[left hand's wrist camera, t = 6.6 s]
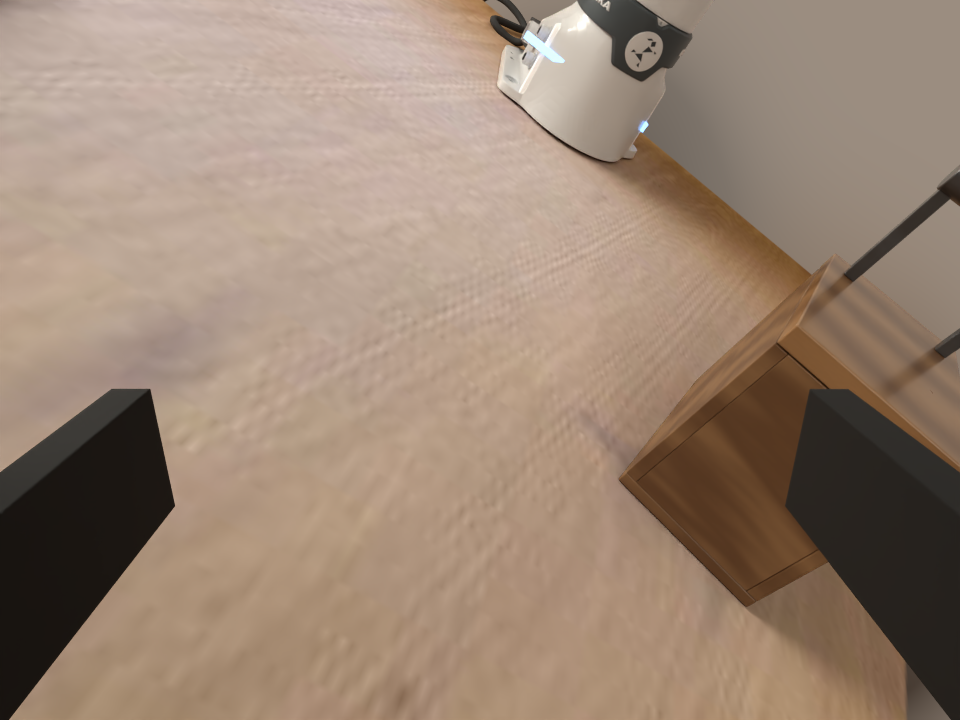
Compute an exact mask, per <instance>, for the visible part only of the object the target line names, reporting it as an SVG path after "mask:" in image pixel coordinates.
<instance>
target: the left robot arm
mask: <svg viewBox="0 0 960 720" xmlns="http://www.w3.org/2000/svg"><path fill="white" fill-rule="evenodd" d="M174 507H175V503H174V499H173V494H172V489H171V484H170V480H169V475H168V470H167V466H166V461H165V456H164V451H163V447H162V442H161V437H160V433H159V428H158V423H157V418H156V414H155V409H154V404H153V400H152V395H151V390H150V389H111V390H110V391H108V392H107V393H106V394H104V395H103V396H102V397H100V398H99V399H98V400H96V401H95V402H94V403H92V404H91V405H90V406H88V407H87V408H86V409H84V410H83V411H82V412H80V413H79V414H78V415H76V416H75V417H74V418H72V419H71V420H70V421H68V422H67V423H66V424H64V425H63V426H62V427H60V428H59V429H58V430H56V431H55V432H54V433H52V434H51V435H50V436H48V437H47V438H46V439H44V440H43V441H41V442H40V443H39V444H37V445H36V446H35V447H33V448H32V449H31V450H29V451H28V452H27V453H25V454H24V455H23V456H21V457H20V458H19V459H17V460H16V461H15V462H13V463H12V464H11V465H9V466H8V467H7V468H5V469H4V470H3V471H1V472H0V720H9V719H10V718H11V716H12V715H13V714H14V712H15V711H16V710H17V709H18V707H19V706H20V705H21V703H22V702H23V701H24V700H25V698H26V697H27V696H28V694H29V693H30V692H31V691H32V689H33V688H34V687H35V685H36V684H37V683H38V682H39V680H40V679H41V678H42V676H43V675H44V674H45V673H46V671H47V670H48V669H49V667H50V666H51V665H52V664H53V662H54V661H55V660H56V658H57V657H58V656H59V655H60V653H61V652H62V651H63V649H64V648H65V647H66V646H67V644H68V643H69V642H70V640H71V639H72V638H73V637H74V635H75V634H76V633H77V631H78V630H79V629H80V628H81V626H82V625H83V624H84V622H85V621H86V620H87V619H88V617H89V616H90V615H91V613H92V612H93V611H94V610H95V608H96V607H97V606H98V604H99V603H100V602H101V601H102V599H103V598H104V597H105V595H106V594H107V593H108V592H109V590H110V589H111V588H112V586H113V585H114V584H115V583H116V581H117V580H118V579H119V577H120V576H121V575H122V574H123V572H124V571H125V570H126V568H127V567H128V566H129V565H130V563H131V562H132V561H133V559H134V558H135V557H136V556H137V554H138V553H139V552H140V550H141V549H142V548H143V547H144V545H145V544H146V543H147V541H148V540H149V539H150V538H151V536H152V535H153V534H154V532H155V531H156V530H157V529H158V527H159V526H160V525H161V523H162V522H163V521H164V520H165V518H166V517H167V516H168V514H169V513H170V512H171V511H172V509H173V508H174ZM785 507H786V508H787V509H788V511H789V512H790V513H791V514H792V516H793V517H794V518H795V520H796V521H797V522H798V523H799V525H800V526H801V527H802V529H803V530H804V531H805V532H806V534H807V535H808V536H809V538H810V539H811V540H812V541H813V543H814V544H815V545H816V547H817V548H818V549H819V550H820V552H821V553H822V554H823V556H824V557H825V558H826V559H827V561H828V562H829V563H830V565H831V566H832V567H833V568H834V570H835V571H836V572H837V574H838V575H839V576H840V577H841V579H842V580H843V581H844V583H845V584H846V585H847V586H848V588H849V589H850V590H851V592H852V593H853V594H854V595H855V597H856V598H857V599H858V601H859V602H860V603H861V604H862V606H863V607H864V608H865V610H866V611H867V612H868V613H869V615H870V616H871V617H872V619H873V620H874V621H875V622H876V624H877V625H878V626H879V628H880V629H881V630H882V631H883V633H884V634H885V635H886V637H887V638H888V639H889V640H890V642H891V643H892V644H893V646H894V647H895V648H896V649H897V651H898V652H899V653H900V655H901V656H902V657H903V658H904V660H905V661H906V662H907V664H908V665H909V666H910V667H911V669H912V670H913V671H914V673H915V674H916V675H917V676H918V678H919V679H920V680H921V682H922V683H923V684H924V685H925V687H926V688H927V689H928V691H929V692H930V693H931V694H932V696H933V697H934V698H935V700H936V701H937V702H938V703H939V705H940V706H941V707H942V709H943V710H944V711H945V712H946V714H947V715H948V716H949V718H950V719H951V720H960V472H959V471H957V470H956V469H955V468H953V467H952V466H951V465H949V464H948V463H947V462H945V461H944V460H943V459H941V458H940V457H939V456H937V455H936V454H935V453H933V452H932V451H931V450H929V449H928V448H927V447H925V446H924V445H923V444H921V443H920V442H919V441H917V440H916V439H914V438H913V437H912V436H910V435H909V434H908V433H906V432H905V431H904V430H902V429H901V428H900V427H898V426H897V425H896V424H894V423H893V422H892V421H890V420H889V419H888V418H886V417H885V416H884V415H882V414H881V413H880V412H878V411H877V410H876V409H874V408H873V407H872V406H870V405H869V404H868V403H866V402H865V401H864V400H862V399H861V398H860V397H858V396H857V395H856V394H854V393H853V392H852V391H850V390H849V389H810V390H809V395H808V400H807V404H806V409H805V414H804V418H803V423H802V428H801V433H800V437H799V442H798V447H797V451H796V456H795V461H794V466H793V470H792V475H791V480H790V484H789V489H788V494H787V499H786V503H785Z"/></svg>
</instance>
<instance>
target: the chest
mask: <svg viewBox="0 0 960 720" xmlns="http://www.w3.org/2000/svg"><path fill="white" fill-rule="evenodd" d="M818 271H819V269H818V270H817V271H816V272H815V273H814V274H813V275H811V276H810V277H809V278H808V279H807V280H806V281H805V282H804V283H803V284H802V285H800V286H799V287H798V288H797V289H796V290H795V291H794V292H793V293H792V294H791V295H789V296H788V297H787V298H786V299H785V300H784V301H783V302H782V303H781V304H780V305H778V306H777V307H776V308H775V309H774V310H773V311H772V312H771V313H770V314H769V315H767V316H766V317H765V318H764V319H763V320H762V321H761V322H760V323H759V324H758V325H757V326H755V327H754V328H753V329H752V330H751V331H750V332H749V333H748V334H747V335H746V336H744V337H743V338H742V339H741V340H740V341H739V342H738V343H737V344H736V345H735V346H733V347H732V348H731V349H730V350H729V351H728V352H727V353H726V354H725V355H724V356H722V357H721V358H720V359H719V360H718V361H717V362H716V363H715V364H714V365H713V366H711V367H710V368H709V369H708V370H707V371H706V372H705V373H704V374H703V375H702V376H701V377H699V378H698V379H697V380H696V382H695V383H694V384H693V386H692V387H691V388H690V389H689V391H688V392H687V393H686V394H685V396H684V397H683V398H682V399H681V401H680V402H679V403H678V404H677V406H676V407H675V408H674V410H673V411H672V412H671V413H670V415H669V416H668V417H667V418H666V420H665V421H664V422H663V423H662V425H661V426H660V427H659V428H658V430H657V431H656V432H655V434H654V435H653V436H652V437H651V439H650V440H649V441H648V442H647V444H646V445H645V446H644V447H643V449H642V450H641V451H640V452H639V454H638V455H637V456H636V458H635V459H634V460H633V461H632V463H631V464H630V465H629V466H628V468H627V469H626V470H625V471H624V473H623V474H622V475H621V476H620V478H619V481H620V482H621V483H622V484H623V485H624V486H625V487H627V488H628V489H629V490H630V491H631V492H632V493H633V494H634V495H635V496H636V497H637V498H638V499H639V500H640V501H641V502H642V503H643V504H644V505H645V506H646V507H647V508H648V509H649V510H650V511H651V512H652V513H653V514H654V515H655V516H656V517H657V518H658V519H659V520H660V521H661V522H662V523H663V524H664V525H665V526H666V527H667V528H668V529H669V530H670V531H671V532H672V533H673V534H674V535H675V536H676V537H677V538H678V539H679V540H680V541H681V542H682V543H683V544H684V545H685V546H686V547H687V548H688V549H689V550H690V551H691V552H692V553H693V554H694V555H695V556H696V557H697V558H698V559H699V560H700V561H701V562H702V563H703V564H704V565H705V566H706V567H707V568H708V569H709V570H710V571H711V572H712V573H713V574H714V575H715V576H716V577H717V578H718V579H719V580H720V581H721V582H722V583H723V584H724V585H725V586H726V587H727V588H728V589H729V590H730V591H731V592H732V593H733V594H734V595H735V596H736V597H737V598H738V599H739V600H740V601H741V602H742V603H743V604H744V605H745V606H746V607H748V606H749V605H751V604H753V603H755V602H756V601H758V600H760V599H762V598H764V597H766V596H767V595H769V594H771V593H773V592H775V591H776V590H778V589H780V588H782V587H784V586H785V585H787V584H789V583H791V582H793V581H794V580H796V579H798V578H800V577H802V576H803V575H805V574H807V573H809V572H811V571H812V570H814V569H816V568H818V567H820V566H821V565H823V564H825V563H827V562H828V561H827V559H826V558H825V557H824V556H823V554H822V553H821V552H820V550H819V549H818V548H817V547H816V545H815V544H814V543H813V541H812V540H811V539H810V538H809V536H808V535H807V534H806V532H805V531H804V530H803V529H802V527H801V526H800V525H799V523H798V522H797V521H796V520H795V518H794V517H793V516H792V514H791V513H790V512H789V511H788V509H787V508H786V507H785V503H786V499H787V494H788V489H789V484H790V480H791V475H792V470H793V466H794V461H795V456H796V451H797V447H798V442H799V437H800V433H801V428H802V423H803V418H804V414H805V409H806V404H807V400H808V395H809V390H810V389H829V388H828V387H827V386H826V385H825V384H823V383H822V382H821V381H820V380H819V379H818V378H817V377H816V376H814V375H813V374H812V373H811V372H810V371H809V370H808V369H806V368H805V367H804V366H803V365H802V364H801V363H800V362H798V361H797V360H796V359H795V358H794V357H793V356H792V355H791V354H789V353H788V352H787V351H786V350H785V349H784V348H783V347H781V346H780V345H779V344H778V342H777V341H778V339H779V338H780V336H781V334H782V333H783V331H784V329H785V327H786V326H787V324H788V322H789V321H790V319H791V317H792V315H793V314H794V312H795V310H796V309H797V307H798V305H799V303H800V302H801V300H802V298H803V297H804V295H805V293H806V291H807V290H808V288H809V286H810V284H811V283H812V281H813V279H814V278H815V276H816V274H817V272H818Z"/></svg>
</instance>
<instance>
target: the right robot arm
mask: <svg viewBox="0 0 960 720" xmlns="http://www.w3.org/2000/svg"><path fill="white" fill-rule="evenodd" d="M483 1H484V2H485V1H487V0H483ZM498 1H500V2H501V3H503V4H504V5H505V6H506V7H508V9H509V10H510V11H511V12H512V13H513V14H514V15H515V17H516V18H517V20H518V21H519V23H520V25H521V26H520V25H518V24H516V23H513V22H511V21H509V20H507V19H505V18H502V17H500V16H496V15H495V16H492V17H491V18H490V22H491V24H492V26H493V28H494V29H495V30H496V32H497V33H498V34H500V35H501V36H502V37H503V38H505V39H506V40H508V41H509V42H510V43H512V44H514V45H516V46H522V45H524V46H525V50H521V49H519V48H516V47H513V46H510V45H507V46H506V47H505V48H504V50H503V51H502V56H501V63H500V69H499V76H498V82H497V86H498V88H499V89H500V90H501V91H502V92H504V93H505V94H506V95H507V96H509V97H510V98H511V99H513V100H514V101H515V102H517V103H518V104H519V105H520V106H521V107H523V108H524V109H525V110H526V111H527V112H528V113H529V114H530V115H531V116H532V117H533V118H534V119H535V120H536V121H537V122H538V123H539V124H541V125H542V126H543V127H544V128H546V129H547V130H548V131H549V132H551V133H552V134H554V135H555V136H556V137H558V138H559V139H561V140H562V141H564V142H565V143H567V144H569V145H570V146H572V147H574V148H576V149H577V150H579V151H581V152H583V153H585V154H587V155H590V156H592V157H594V158H597V159H600V160H603V161H608V162H616V161H618V160H619V159H621V158H633V157H634V155H635V154H636V152H637V149H636V147H635V146H634V145H633V143H634V141H635V140H636V138H637V136H638V135H639V133H640V132H643V131H644V130H645V128H646V127H647V126H648V124H647V120H648V119H649V117H650V116H651V114H652V112H653V111H654V109H655V108H656V106H657V104H658V103H659V101H660V100H661V98H662V96H663V95H664V92H665V82H664V78H665V73H666V70H667V68H672V67H673V66H674V64H675V63H676V62H677V60H678V59H679V57H680V56H682V55H683V53H684V52H685V50H686V47H687V45H688V44H689V42H690V41H691V39H692V31H693V30H694V28H695V27H696V25H697V24H698V23H699V21H700V20H701V18H702V17H703V16H704V14H705V13H706V11H707V10H708V9H709V7H710V6H711V4H712V3H713V2H714V0H577V1H576V2H575V3H574V4H573V5H571V6H570V7H567V8H565V9H563V10H561V11H559V12H557V13H555V14H554V15H551V16H549V17H547V18H545V19H543V20H542V21H541V22H540V21H539V20H537V19H535V18H533V17H532V18H531V20H530V21H529V23H528V25H527V23H526V21H525V19H524V17H523V16H522V14H521V13H520V11H519V10H518V9H517V8H516V6H515V5H514V4H513V3H512V2H511V1H510V0H498ZM501 25H503V26H505V27H507V28H509V29H512V30H514V31H516V32H519V33H522V36H521V38H520V39H519V38H515V37H513V36H512V35H510V34H509V33H507V32H506V31H505V30H504V29H503V28H502V27H501Z"/></svg>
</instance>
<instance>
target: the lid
mask: <svg viewBox="0 0 960 720" xmlns="http://www.w3.org/2000/svg"><path fill="white" fill-rule="evenodd" d="M937 189H938V190H937V191H936V192H935V193H934V194H932V195H931V196H930V197H929V198H928V199H927V200H926V201H924V202H923V203H922V204H921V205H920V206H919V207H918V208H917V209H915V210H914V211H913V212H912V213H911V214H910V215H909V216H907V217H906V218H905V219H904V220H903V221H902V222H901V223H900V224H898V225H897V226H896V227H895V228H894V229H893V230H892V231H890V232H889V233H888V234H887V235H886V236H885V237H883V238H882V239H881V240H880V241H879V242H878V243H877V244H876V245H874V246H873V247H872V248H871V249H870V250H869V251H868V252H866V253H865V254H864V255H863V256H862V257H861V258H860V259H858V260H857V261H856V262H855V263H854V264H853V265H852V266H850V265H849V264H848V263H847V262H846V261H844V260H843V259H842V258H841V257H840V256H838V255H837V254H834V255H833V256H832V257H831V258H829V259H828V260H827V261H826V262H825V263H824V264H823V265H822V266H821V267H820V269H819V271H818V272H817V274H816V276H815V278H814V279H813V281H812V283H811V284H810V286H809V288H808V290H807V291H806V293H805V295H804V297H803V298H802V300H801V302H800V303H799V305H798V307H797V309H796V310H795V312H794V314H793V315H792V317H791V319H790V321H789V322H788V324H787V326H786V327H785V329H784V331H783V333H782V334H781V336H780V338H779V339H778V341H777V342H778V344H779V345H780V346H781V347H783V348H784V349H785V350H786V351H787V352H788V353H789V354H791V355H792V356H793V357H794V358H795V359H796V360H797V361H798V362H800V363H801V364H802V365H803V366H804V367H805V368H806V369H808V370H809V371H810V372H811V373H812V374H813V375H814V376H816V377H817V378H818V379H819V380H820V381H821V382H822V383H823V384H825V385H826V386H827V387H828V388H829V389H849V390H850V391H852V392H853V393H854V394H856V395H857V396H858V397H860V398H861V399H862V400H864V401H865V402H866V403H868V404H869V405H870V406H872V407H873V408H874V409H876V410H877V411H878V412H880V413H881V414H882V415H884V416H885V417H886V418H888V419H889V420H890V421H892V422H893V423H894V424H896V425H897V426H898V427H900V428H901V429H902V430H904V431H905V432H906V433H908V434H909V435H910V436H912V437H913V438H914V439H916V440H917V441H919V442H920V443H921V444H923V445H924V446H925V447H927V448H928V449H929V450H931V451H932V452H933V453H935V454H936V455H937V456H939V457H940V458H941V459H943V460H944V461H945V462H947V463H948V464H949V465H951V466H952V467H953V468H955V469H956V470H957V471H959V472H960V376H959V370H958V364H957V357H956V352H955V351H956V350H958V349H959V348H960V329H958V330H957V331H955V332H954V333H953V334H951V335H950V336H949V337H947V338H946V339H944V340H943V341H941V340H940V339H939V338H938V337H936V336H935V335H934V334H933V333H932V332H930V331H929V330H928V329H927V328H926V327H924V326H923V325H922V324H921V323H919V322H918V321H917V320H916V319H915V318H913V317H912V316H911V315H910V314H909V313H907V312H906V311H905V310H904V309H903V308H901V307H900V306H899V305H898V304H896V303H895V302H894V301H893V300H892V299H890V298H889V297H888V296H887V295H886V294H884V293H883V292H882V291H881V290H880V289H878V288H877V287H876V286H875V285H873V284H872V283H871V282H870V281H869V280H867V279H866V278H865V277H864V276H862V274H863V273H865V272H866V271H867V270H868V269H869V268H870V267H872V266H873V265H874V264H875V263H876V262H877V261H878V260H880V259H881V258H882V257H883V256H884V255H885V254H887V253H888V252H889V251H890V250H891V249H892V248H894V247H895V246H896V245H897V244H898V243H899V242H901V241H902V240H903V239H904V238H905V237H906V236H907V235H909V234H910V233H911V232H912V231H913V230H915V229H916V228H917V227H918V226H919V225H920V224H922V223H923V222H924V221H925V220H926V219H927V218H928V217H930V216H931V215H932V214H933V213H934V212H936V211H937V210H938V209H939V208H940V207H941V206H943V205H944V204H945V203H946V202H947V201H948V200H949V199H951V200H952V201H954V202H955V203H956V204H957V205H959V206H960V165H959V166H958V167H957V168H956V169H954V170H953V171H952V172H951V173H950V174H949V175H948V176H947V177H946V178H945V179H944V180H943V181H942V182H941V183H940V184H939V185H938V187H937Z"/></svg>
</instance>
